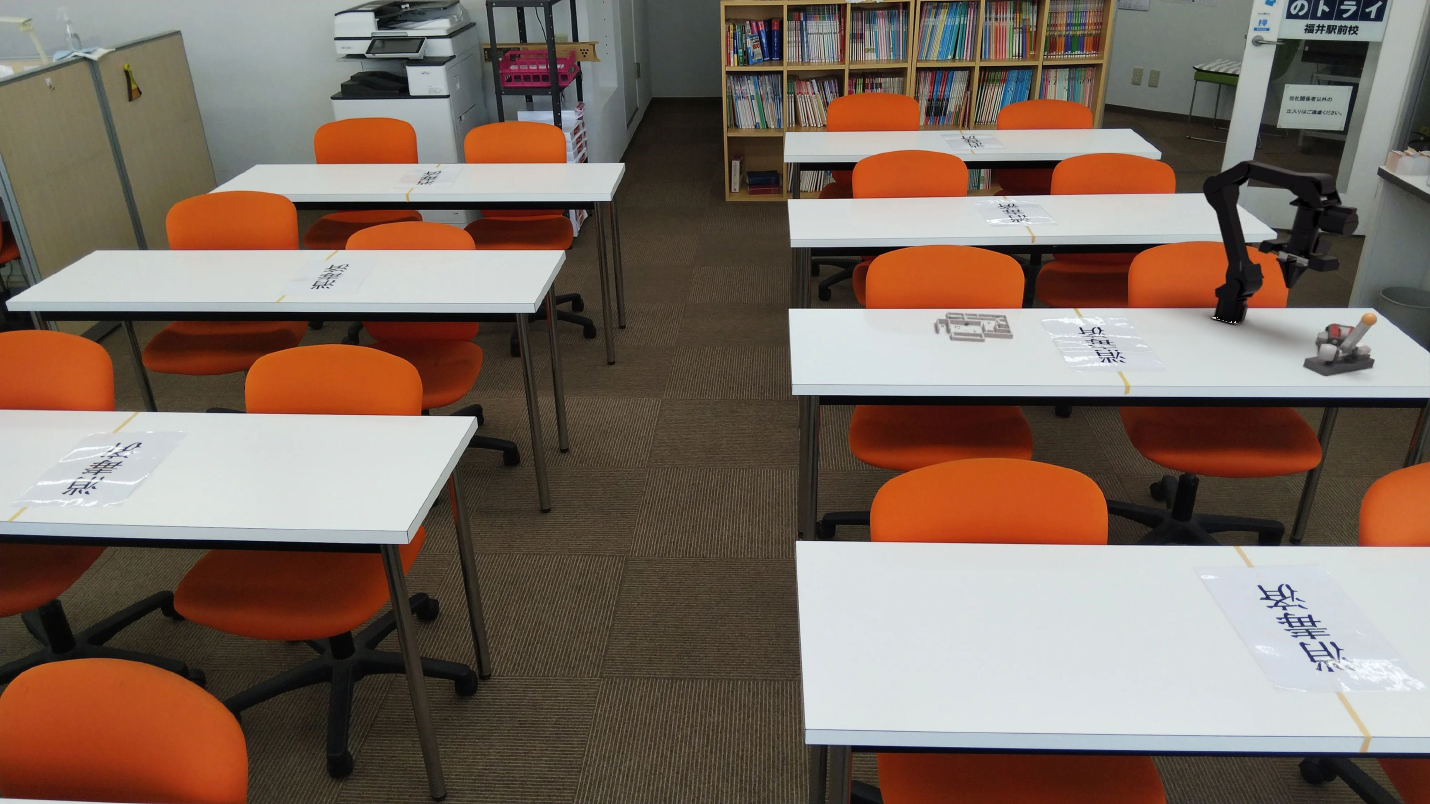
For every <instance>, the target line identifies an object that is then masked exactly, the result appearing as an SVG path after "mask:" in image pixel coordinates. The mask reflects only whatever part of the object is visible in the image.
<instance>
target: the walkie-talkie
mask: <svg viewBox="0 0 1430 804" xmlns="http://www.w3.org/2000/svg"><path fill="white" fill-rule="evenodd" d="M1327 325H1328V326H1325V330H1324V331H1319V332H1318V334H1317V338H1316V340H1315V345H1317V346H1318V352H1319V351H1320V348H1321V345H1322V344H1331V345H1334V346H1336V347H1337V349H1338V348H1339V347H1340V346H1341V344H1342V343H1343V342H1344V341H1345V339H1346V338H1347V337H1348V336H1349V334H1350V333H1351V332H1352V331H1353V329H1354V328H1355V327H1356V326H1352V325H1347V324H1340V323H1330V324H1327Z"/></svg>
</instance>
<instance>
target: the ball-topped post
mask: <svg viewBox="0 0 1430 804" xmlns="http://www.w3.org/2000/svg"><path fill="white" fill-rule="evenodd" d="M1360 318H1361V319H1360V320H1359V322H1358V323H1357V324H1356V326H1354V327H1355V328H1354V329H1353V331H1352V332H1351V333H1350V334H1349V336H1348V337H1347V338H1346V339H1345V341H1344V342H1343V343H1342V344H1341V346H1340V347H1339V348H1338V349H1339V350H1340V353H1339V356H1338V358H1342V357H1348V356H1351V355H1352V350H1353V348H1354V347H1355V346H1356V345H1357V344H1358V342H1359V341H1360V342H1361V340H1362V338H1363V337H1364V336H1365V335H1366V334H1367V332H1369V330H1370V329H1371V328H1372V326H1374V325H1376V324H1377V321H1378V317H1377V315H1376V314H1375V313H1372V312H1367V313H1364V314H1363V315H1362V316H1361V317H1360Z"/></svg>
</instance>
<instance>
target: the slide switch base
mask: <svg viewBox="0 0 1430 804" xmlns="http://www.w3.org/2000/svg"><path fill="white" fill-rule="evenodd" d="M1357 350H1358V347H1357V346H1355V347H1354V348H1353V350H1352V355H1351V356H1348V357H1342V358H1338V356H1339V353H1340V350H1339V349H1337V350H1336V353H1335V356H1334V359H1333V361H1325V360H1321V359H1319V358H1318V355H1317V356H1312V357H1311V356H1310V357H1306V358H1304V362H1303V365H1302V366H1303V367H1304V368H1307V369H1308V370H1311V371H1313V372H1315V373H1318V374H1320V375H1322V376H1325V377H1326V376H1327V377H1329V376H1332V375H1337V374H1343V373H1344V374H1345V373H1349V372H1355V371H1360V370H1361V371H1362V370H1366V369H1372V368H1373V367H1374V365H1375V364H1374V363H1375V361H1376V360H1375V359H1374V358H1372V357H1371V354H1370V353H1368V354H1362V355H1360V354H1358V353H1357Z"/></svg>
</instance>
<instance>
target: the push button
mask: <svg viewBox="0 0 1430 804" xmlns="http://www.w3.org/2000/svg"><path fill="white" fill-rule="evenodd" d="M1336 350H1337V347H1336V346H1334V345H1331V344H1322V345H1321V348H1320V351H1319V350H1318V355H1317V356H1318V358H1319V359H1321V360H1325V361H1333V359H1334V356H1335V353H1336Z"/></svg>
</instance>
